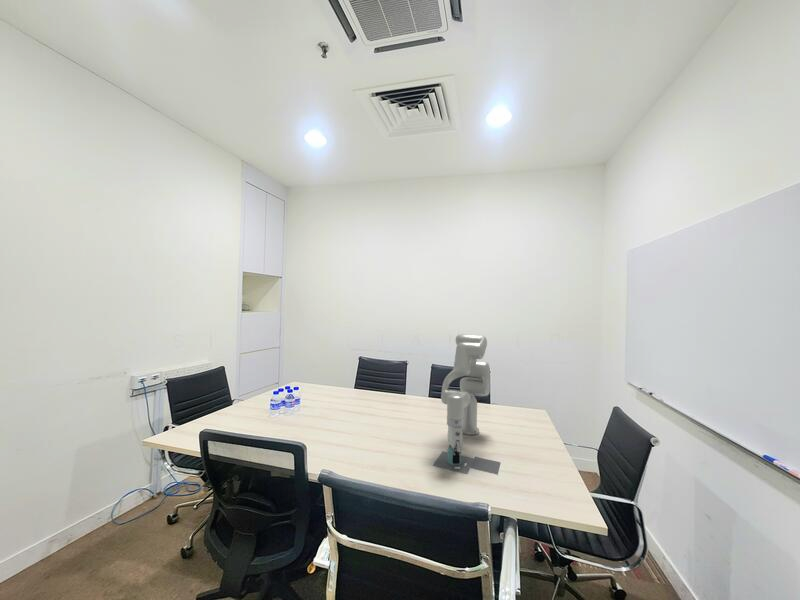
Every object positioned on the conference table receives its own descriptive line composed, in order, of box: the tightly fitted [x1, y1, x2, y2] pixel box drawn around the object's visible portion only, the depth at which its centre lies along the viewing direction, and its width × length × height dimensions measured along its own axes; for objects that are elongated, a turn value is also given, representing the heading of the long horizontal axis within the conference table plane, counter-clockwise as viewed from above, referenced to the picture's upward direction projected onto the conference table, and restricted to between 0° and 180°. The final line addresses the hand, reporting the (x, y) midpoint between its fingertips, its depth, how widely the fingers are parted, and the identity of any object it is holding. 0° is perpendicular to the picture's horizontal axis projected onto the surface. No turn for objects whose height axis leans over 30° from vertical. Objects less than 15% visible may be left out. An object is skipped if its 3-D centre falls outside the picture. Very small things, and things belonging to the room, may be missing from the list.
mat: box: [470, 456, 501, 476], centre depth 144 cm, size 12×12×1 cm
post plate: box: [432, 451, 475, 475], centre depth 147 cm, size 16×16×5 cm
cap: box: [446, 446, 462, 465], centre depth 147 cm, size 6×6×6 cm
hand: (454, 459), depth 147 cm, fingers closed on cap, 6 cm apart
